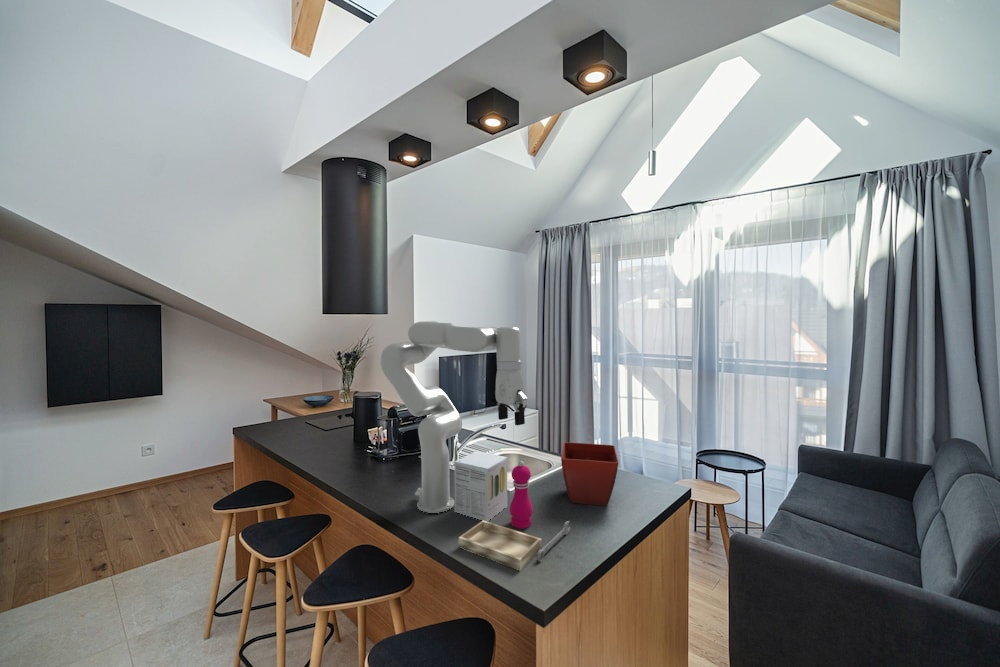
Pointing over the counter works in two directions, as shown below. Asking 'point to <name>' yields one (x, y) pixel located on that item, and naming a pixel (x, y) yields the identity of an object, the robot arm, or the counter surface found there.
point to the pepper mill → (521, 497)
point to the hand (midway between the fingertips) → (511, 421)
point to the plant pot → (589, 472)
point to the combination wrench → (553, 541)
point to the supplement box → (481, 485)
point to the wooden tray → (501, 544)
